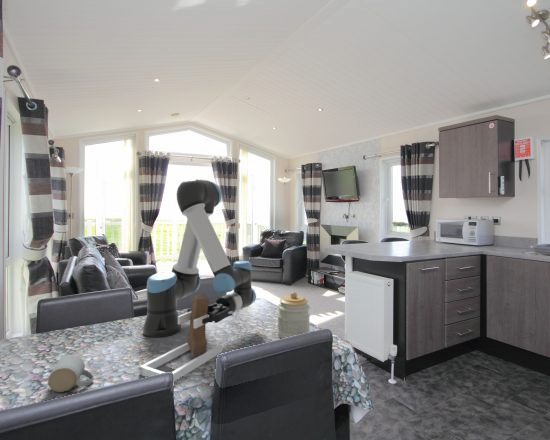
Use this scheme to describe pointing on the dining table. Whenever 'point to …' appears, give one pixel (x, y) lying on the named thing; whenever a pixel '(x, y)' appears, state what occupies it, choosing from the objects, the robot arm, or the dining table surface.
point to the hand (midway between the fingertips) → (186, 322)
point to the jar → (293, 316)
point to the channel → (150, 367)
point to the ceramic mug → (68, 374)
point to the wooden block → (197, 335)
